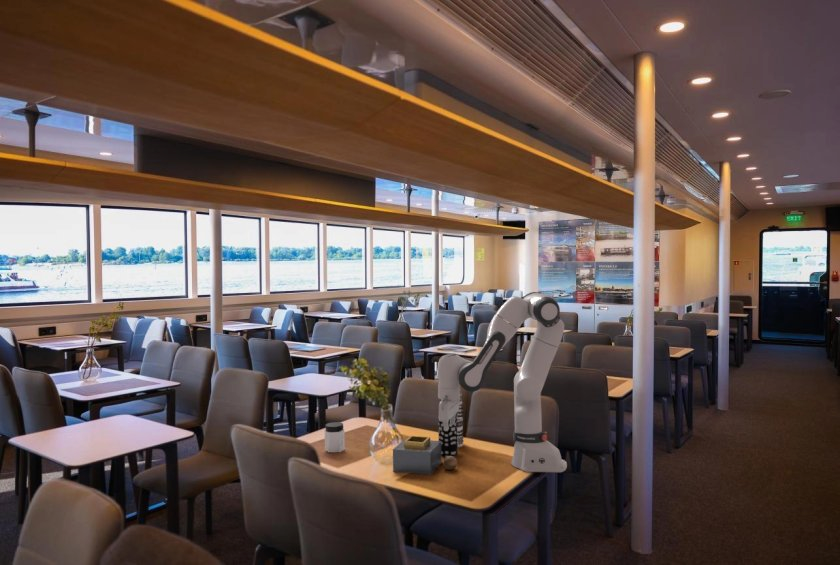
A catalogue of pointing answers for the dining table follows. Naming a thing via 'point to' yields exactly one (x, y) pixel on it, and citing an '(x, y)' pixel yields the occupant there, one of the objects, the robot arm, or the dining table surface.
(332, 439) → the jar
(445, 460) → the brown ball
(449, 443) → the spotted tube
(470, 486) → the dining table surface
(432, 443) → the blue-grey block
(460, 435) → the black and white canister
